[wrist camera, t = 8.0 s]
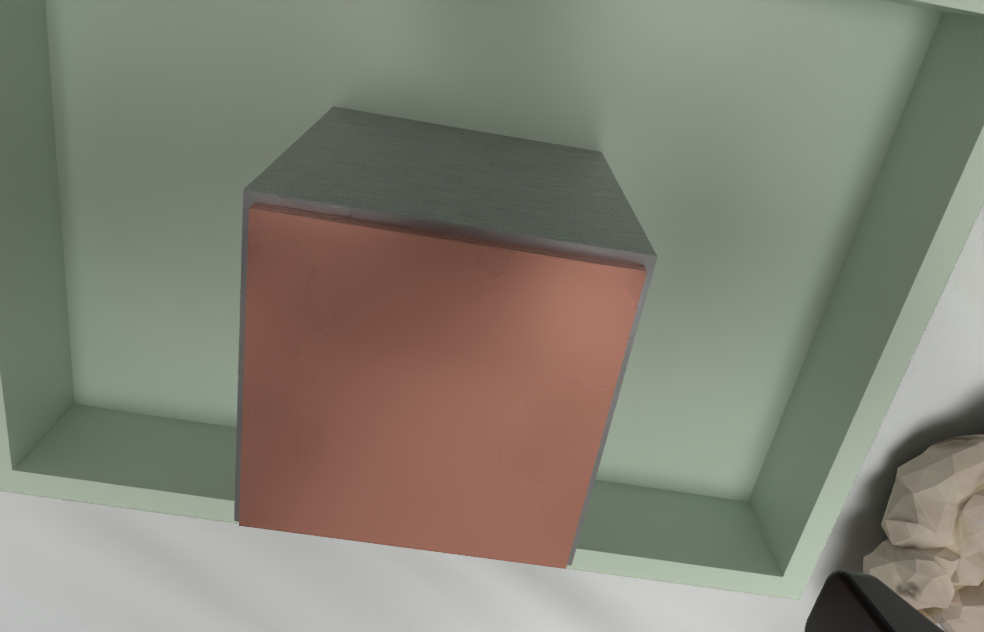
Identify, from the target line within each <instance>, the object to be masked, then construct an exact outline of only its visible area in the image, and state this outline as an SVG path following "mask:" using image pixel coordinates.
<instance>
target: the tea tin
mask: <svg viewBox="0 0 984 632" xmlns="http://www.w3.org/2000/svg"><path fill="white" fill-rule="evenodd" d="M656 260H657V254H656V253H655V251H654V249H653V247H652V245H651V243H650V241H649V239H648V238H647V236H646V234H645V232H644V230H643V228H642V226H641V225H640V223H639V221H638V219H637V217H636V215H635V213H634V211H633V210H632V208H631V206H630V204H629V202H628V200H627V198H626V197H625V195H624V193H623V191H622V189H621V187H620V185H619V183H618V182H617V180H616V178H615V176H614V174H613V172H612V170H611V168H610V167H609V165H608V163H607V161H606V159H605V157H604V155H603V154H602V152H599V151H593V150H588V149H582V148H576V147H570V146H564V145H558V144H552V143H546V142H540V141H534V140H528V139H523V138H517V137H511V136H505V135H499V134H493V133H487V132H481V131H475V130H469V129H463V128H458V127H452V126H446V125H440V124H434V123H428V122H422V121H416V120H410V119H404V118H398V117H393V116H387V115H381V114H375V113H369V112H363V111H357V110H351V109H345V108H339V107H334V106H333V107H332V108H331V109H330V110H329V111H328V112H327V113H326V114H325V115H324V116H322V117H321V118H320V119H319V120H318V121H317V122H316V123H315V124H314V125H313V126H312V127H311V128H309V129H308V130H307V131H306V132H305V133H304V134H303V135H302V136H301V137H300V138H299V139H298V140H296V141H295V142H294V143H293V144H292V145H291V146H290V147H289V148H288V149H287V150H286V151H285V152H283V153H282V154H281V155H280V156H279V157H278V158H277V159H276V160H275V161H274V162H273V163H272V164H270V165H269V166H268V167H267V168H266V169H265V170H264V171H263V172H262V173H261V174H260V175H259V176H257V177H256V178H255V179H254V180H253V181H252V182H251V183H250V184H249V185H248V186H247V187H246V188H244V189H243V216H242V252H241V288H240V324H239V360H238V396H237V431H236V467H235V503H234V521H238V522H239V526H246V527H254V528H262V529H269V530H277V531H284V532H292V533H299V534H307V535H314V536H322V537H330V538H337V539H345V540H352V541H360V542H367V543H375V544H383V545H390V546H398V547H405V548H413V549H420V550H428V551H436V552H443V553H451V554H458V555H466V556H473V557H481V558H488V559H496V560H504V561H511V562H519V563H526V564H534V565H541V566H549V567H557V568H564V569H566V566H567V565H570V566H572V562H573V559H574V555H575V552H576V548H577V544H578V541H579V537H580V534H581V530H582V526H583V523H584V519H585V516H586V512H587V508H588V505H589V501H590V498H591V494H592V490H593V487H594V483H595V480H596V476H597V472H598V469H599V465H600V462H601V458H602V454H603V451H604V447H605V444H606V440H607V436H608V433H609V429H610V425H611V422H612V418H613V415H614V411H615V407H616V404H617V400H618V397H619V393H620V389H621V386H622V382H623V379H624V375H625V371H626V368H627V364H628V361H629V357H630V353H631V350H632V346H633V343H634V339H635V335H636V332H637V328H638V325H639V321H640V317H641V314H642V310H643V307H644V303H645V299H646V296H647V292H648V289H649V285H650V281H651V278H652V274H653V271H654V267H655V263H656Z"/></svg>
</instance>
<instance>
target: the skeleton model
mask: <svg viewBox="0 0 984 632" xmlns="http://www.w3.org/2000/svg"><path fill="white" fill-rule="evenodd" d="M881 526H882V528H883V530H884V531H885V533H886V535H887V537H888V538H887V539H886V540H884V541H883V542H882V543H881V544H880V545H879V546H878V547H877V548H876V549H875V550H874V551H873V552H872V553H870V554H868V555H866V556H865V557H863V573H867V574H870V575H873V576H875V577H876V578H878V579H879V580H880V581H882V582H883V583H884V584H885V585H887V586H888V587H889V588H890V589H892V590H893V591H894V592H895V593H897V594H898V595H899V596H900V597H902V598H903V599H904V600H905V601H907V602H908V603H909V604H910V605H912V606H913V607H914V608H915V609H917V610H918V611H919V612H920V613H922V614H923V615H924V616H925V617H927V618H928V619H929V620H930V621H932V622H933V623H934V624H935V625H937V623H938V622H939V623H940V624H941V625H942V626H943V628H944V629H945V631H946V632H984V434H973V435H968V436H957V437H952V438H949V439H946V440H943V441H940V442H938V443H935V444H932V445H931V446H930V447H929V448H928V449H927V450H926V451H925V452H924V453H922V454H921V455H919V456H917V457H915V458H914V459H912V460H910V461H908V462H907V463H905V464H903V465H901V466H900V467H898V468H897V474H896V480H895V483H894V486H893V489H892V492H891V495H890V498H889V501H888V504H887V507H886V510H885V514H884V517H883V520H882V523H881Z"/></svg>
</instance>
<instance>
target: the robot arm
mask: <svg viewBox="0 0 984 632" xmlns="http://www.w3.org/2000/svg"><path fill="white" fill-rule="evenodd" d="M805 632H944V631H943V630H942V629H940V628H939V627H938V626H937V625H935V624H934V623H933V622H932V621H930V620H929V619H928V618H927V617H925V616H924V615H923V614H922V613H920V612H919V611H918V610H917V609H915V608H914V607H913V606H912V605H910V604H909V603H908V602H907V601H905V600H904V599H903V598H902V597H900V596H899V595H898V594H897V593H895V592H894V591H893V590H892V589H890V588H889V587H888V586H887V585H885V584H884V583H883V582H882V581H880V580H879V579H878V578H876V577H875V576H873V575H870V574H867V573H860V572H853V571H846V570H837V571H834V572H833V573H831V574H830V575H829V576H828V578H827V580H826V582H825V584H824V586H823V588H822V590H821V592H820V594H819V596H818V598H817V600H816V603H815V605H814V607H813V609H812V611H811V613H810V615H809V617H808V619H807V622H806V626H805Z"/></svg>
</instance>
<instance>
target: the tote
mask: <svg viewBox="0 0 984 632" xmlns="http://www.w3.org/2000/svg"><path fill="white" fill-rule="evenodd" d="M333 106H334V107H339V108H345V109H351V110H357V111H363V112H369V113H375V114H381V115H387V116H393V117H398V118H404V119H410V120H416V121H422V122H428V123H434V124H440V125H446V126H452V127H458V128H463V129H469V130H475V131H481V132H487V133H493V134H499V135H505V136H511V137H517V138H523V139H528V140H534V141H540V142H546V143H552V144H558V145H564V146H570V147H576V148H582V149H588V150H593V151H599V152H602V154H603V155H604V157H605V159H606V161H607V163H608V165H609V167H610V168H611V170H612V172H613V174H614V176H615V178H616V180H617V182H618V183H619V185H620V187H621V189H622V191H623V193H624V195H625V197H626V198H627V200H628V202H629V204H630V206H631V208H632V210H633V211H634V213H635V215H636V217H637V219H638V221H639V223H640V225H641V226H642V228H643V230H644V232H645V234H646V236H647V238H648V239H649V241H650V243H651V245H652V247H653V249H654V251H655V253H656V254H657V260H656V263H655V267H654V271H653V274H652V278H651V281H650V285H649V289H648V292H647V296H646V299H645V303H644V307H643V310H642V314H641V317H640V321H639V325H638V328H637V332H636V335H635V339H634V343H633V346H632V350H631V353H630V357H629V361H628V364H627V368H626V371H625V375H624V379H623V382H622V386H621V389H620V393H619V397H618V400H617V404H616V407H615V411H614V415H613V418H612V422H611V425H610V429H609V433H608V436H607V440H606V444H605V447H604V451H603V454H602V458H601V462H600V465H599V469H598V472H597V476H596V480H595V483H594V487H593V490H592V494H591V498H590V501H589V505H588V508H587V512H586V516H585V519H584V523H583V526H582V530H581V534H580V537H579V541H578V544H577V548H576V552H575V555H574V559H573V562H572V566H570V565H567V566H566V568H567V569H574V570H582V571H589V572H596V573H604V574H611V575H618V576H626V577H633V578H640V579H648V580H655V581H662V582H670V583H677V584H684V585H692V586H699V587H706V588H714V589H721V590H728V591H735V592H743V593H750V594H757V595H765V596H772V597H779V598H787V599H794V600H800V598H801V596H802V594H803V591H804V589H805V587H806V585H807V583H808V581H809V578H810V576H811V574H812V572H813V570H814V568H815V566H816V563H817V561H818V559H819V557H820V555H821V553H822V550H823V548H824V546H825V544H826V542H827V540H828V538H829V535H830V533H831V531H832V529H833V527H834V525H835V522H836V520H837V518H838V516H839V514H840V512H841V510H842V507H843V505H844V503H845V501H846V499H847V497H848V495H849V492H850V490H851V488H852V486H853V484H854V482H855V479H856V477H857V475H858V473H859V471H860V469H861V467H862V464H863V462H864V460H865V458H866V456H867V454H868V451H869V449H870V447H871V445H872V443H873V441H874V439H875V436H876V434H877V432H878V430H879V428H880V426H881V423H882V421H883V419H884V417H885V415H886V413H887V411H888V408H889V406H890V404H891V402H892V400H893V398H894V396H895V393H896V391H897V389H898V387H899V385H900V383H901V380H902V378H903V376H904V374H905V372H906V370H907V368H908V365H909V363H910V361H911V359H912V357H913V355H914V352H915V350H916V348H917V346H918V344H919V342H920V340H921V337H922V335H923V333H924V331H925V329H926V327H927V324H928V322H929V320H930V318H931V316H932V314H933V312H934V309H935V307H936V305H937V303H938V301H939V299H940V297H941V294H942V292H943V290H944V288H945V286H946V284H947V281H948V279H949V277H950V275H951V273H952V271H953V269H954V266H955V264H956V262H957V260H958V258H959V256H960V253H961V251H962V249H963V247H964V245H965V243H966V241H967V238H968V236H969V234H970V232H971V230H972V228H973V225H974V223H975V221H976V219H977V217H978V215H979V213H980V210H981V208H982V206H983V204H984V0H0V491H4V492H11V493H18V494H26V495H33V496H40V497H48V498H55V499H62V500H70V501H77V502H84V503H91V504H99V505H106V506H113V507H121V508H128V509H135V510H143V511H150V512H157V513H165V514H172V515H179V516H187V517H194V518H201V519H209V520H216V521H223V522H231V523H238V524H239V522H238V521H234V503H235V467H236V431H237V396H238V360H239V324H240V288H241V252H242V216H243V189H244V188H246V187H247V186H248V185H249V184H250V183H251V182H252V181H253V180H254V179H255V178H256V177H257V176H259V175H260V174H261V173H262V172H263V171H264V170H265V169H266V168H267V167H268V166H269V165H270V164H272V163H273V162H274V161H275V160H276V159H277V158H278V157H279V156H280V155H281V154H282V153H283V152H285V151H286V150H287V149H288V148H289V147H290V146H291V145H292V144H293V143H294V142H295V141H296V140H298V139H299V138H300V137H301V136H302V135H303V134H304V133H305V132H306V131H307V130H308V129H309V128H311V127H312V126H313V125H314V124H315V123H316V122H317V121H318V120H319V119H320V118H321V117H322V116H324V115H325V114H326V113H327V112H328V111H329V110H330V109H331V108H332V107H333Z"/></svg>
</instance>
